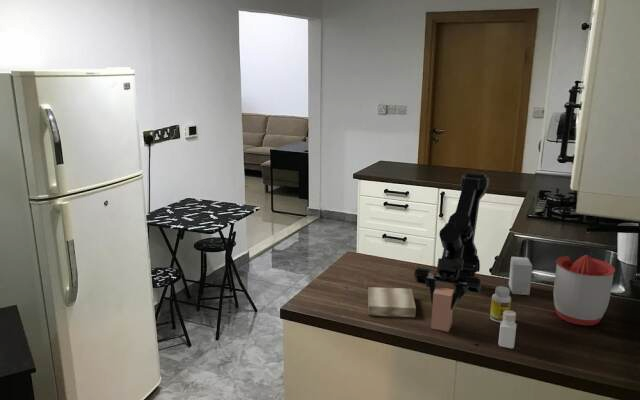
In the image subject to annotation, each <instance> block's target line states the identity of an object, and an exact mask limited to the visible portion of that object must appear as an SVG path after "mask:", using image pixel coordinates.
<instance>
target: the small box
mask: <svg viewBox="0 0 640 400" xmlns="http://www.w3.org/2000/svg"><path fill="white" fill-rule="evenodd" d="M532 274H533V264H532V263H531V261H530V259H529V257H525V256H524V257H523V256H522V257H521V256H511V258H510V267H509V278H508V286H509V287H508V288H509V289H510V293H511V294H512V295H523V296H525V295H526V296H530V294H531V293H530V292H531V286H532V285H531V284H532V283H531V282H532Z"/></svg>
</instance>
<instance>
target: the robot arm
mask: <svg viewBox="0 0 640 400" xmlns="http://www.w3.org/2000/svg"><path fill="white" fill-rule="evenodd" d="M489 185H490V177H487V174H486V173H479V172H466V174H464V175H461V180H460V187H461V191H460V194H459V198H458V203H457V206H456V209H455V212H453V213H452V214H451V215H449V218H448V221H447V222H446V223H445V225H444V226H443V227H442V228H441V229H440V230H439V239H440V241H441V247H442V248H443V251H442V256H441V257H440V258H438V260H437V267H436V272H437V273H438V274H436V273H433V272H431V271H430V269H429V268H424V267H419V266H418V267H416V268H415V270H414V274H413V276H414V280H415V281H416V283H418V284H423V285H425V286H426V287H427V288H429V292H430V300H431V302H430V303H431V306H432V305H433V293H434V291H435V289H436V287H437V284H436V283H437V282H439V283H445V284H451V285H453V286H454V297H453V300H452V303H451V310H452V309H453V310H454V309H455V307H456V305H457V304H458V302H459V301H460V300H461V298H462V297H463V296H464V295H465V294H466V295H467V294H469V292H470V293H476V294H480V293H481V291H482V279H481V278H480V277H479V276H476V273H479V272H481V271H480V269H481V263H480V259H479V256H478V249H477V247H476V245H475V236H476V230H477V229H476V228H477V221H478V214H479V209H480V208H479V207H480V201H481V200H482V198H483V197H484V196H485V194H486V193H487V189H489Z"/></svg>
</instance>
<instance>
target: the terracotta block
mask: <svg viewBox="0 0 640 400" xmlns="http://www.w3.org/2000/svg"><path fill="white" fill-rule="evenodd" d="M454 294H455V288H454V289H453V288H448V287H443V286H442V287H441V286H436V289H435V291H434V293H433V305H432V304H431V322H430V329H433V330H437V331H441V332H442V331H443V332H447V333H449V332H450V329H451V327H452V324H453V313H454V312H453V310H454V308H453V309H452V310H451V303H452V300H453V297H454Z"/></svg>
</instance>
